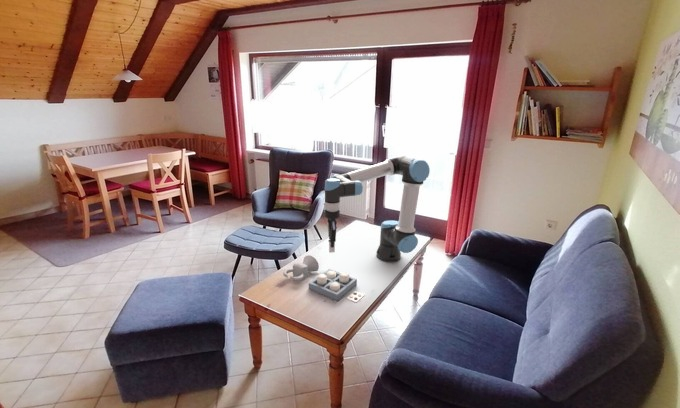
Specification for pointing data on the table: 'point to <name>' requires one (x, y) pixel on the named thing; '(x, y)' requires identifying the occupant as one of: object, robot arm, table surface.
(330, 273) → the button
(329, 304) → the table surface
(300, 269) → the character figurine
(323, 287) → the button board
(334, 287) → the button
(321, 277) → the button
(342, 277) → the button
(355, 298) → the card
